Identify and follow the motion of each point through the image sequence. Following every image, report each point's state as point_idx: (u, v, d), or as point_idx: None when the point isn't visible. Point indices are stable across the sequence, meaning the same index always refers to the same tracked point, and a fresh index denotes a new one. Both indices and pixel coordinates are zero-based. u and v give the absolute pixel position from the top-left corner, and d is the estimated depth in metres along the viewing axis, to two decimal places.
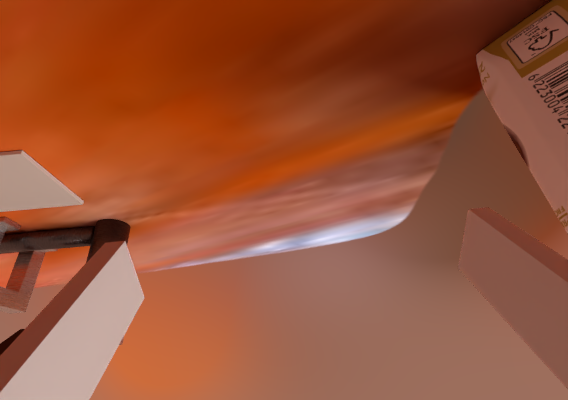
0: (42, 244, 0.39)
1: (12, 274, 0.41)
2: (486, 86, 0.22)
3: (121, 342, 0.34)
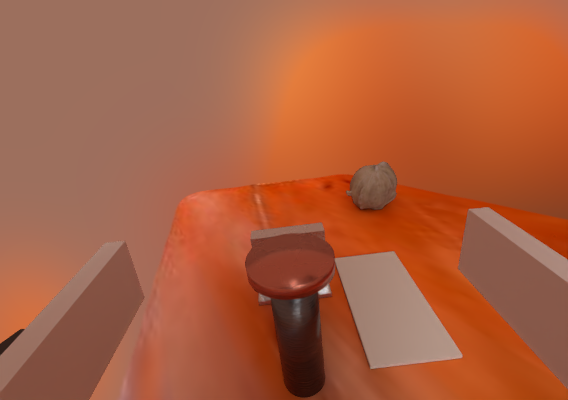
0: None
1: None
2: None
3: (277, 285, 0.21)
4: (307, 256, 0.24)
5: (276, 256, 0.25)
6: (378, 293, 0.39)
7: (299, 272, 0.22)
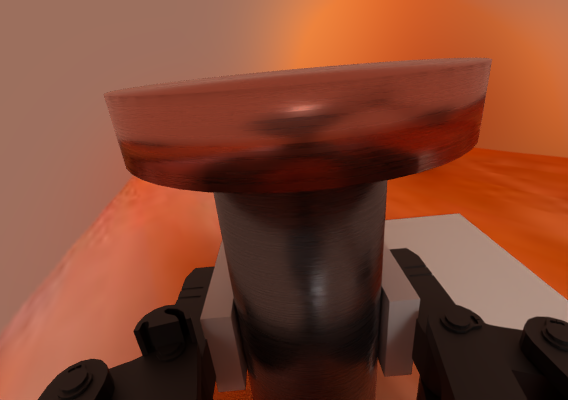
0: None
1: None
2: None
3: (212, 91, 0.03)
4: (362, 67, 0.06)
5: (241, 77, 0.07)
6: (453, 275, 0.21)
7: (343, 73, 0.04)
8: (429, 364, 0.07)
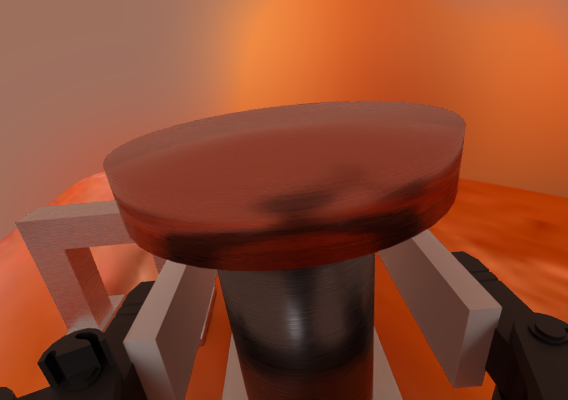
0: None
1: (94, 266, 0.21)
2: None
3: (199, 185, 0.04)
4: (347, 121, 0.06)
5: (234, 130, 0.07)
6: None
7: (324, 146, 0.05)
8: (510, 373, 0.07)
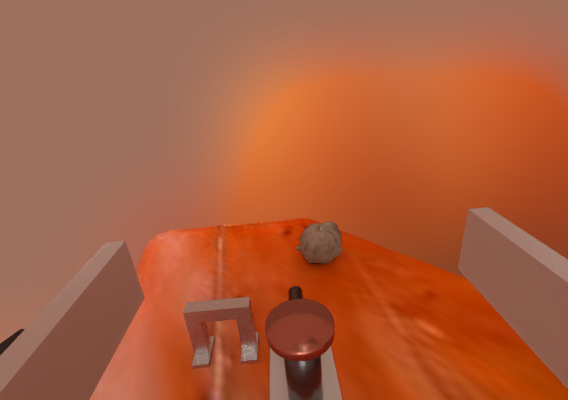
0: None
1: (206, 326, 0.46)
2: None
3: (290, 350, 0.29)
4: (313, 324, 0.31)
5: (289, 322, 0.32)
6: None
7: (307, 339, 0.30)
8: None
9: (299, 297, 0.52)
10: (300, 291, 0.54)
